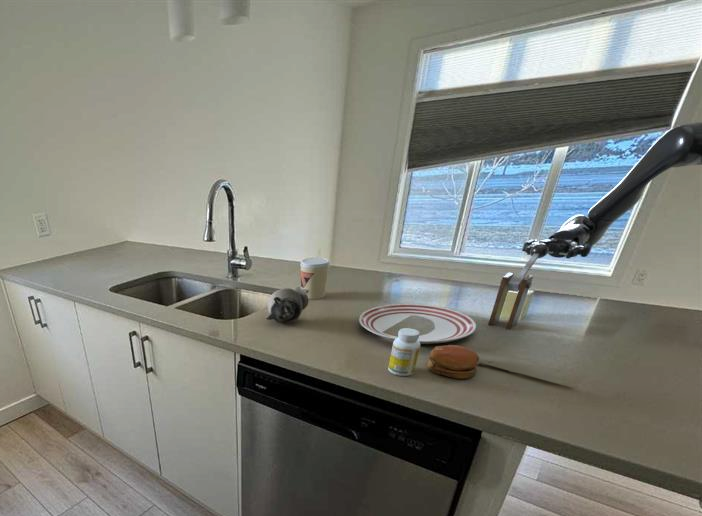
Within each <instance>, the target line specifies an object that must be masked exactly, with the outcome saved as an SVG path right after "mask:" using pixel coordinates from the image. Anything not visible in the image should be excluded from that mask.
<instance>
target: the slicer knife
mask: <svg viewBox="0 0 702 516" xmlns="http://www.w3.org/2000/svg"><path fill="white" fill-rule="evenodd" d="M548 251H549V248H548V246H547V245H546V244H537V245H535V246H533V247H532V249H531V251H530V255H529V256H531V257H530V258H529V260H528V261H527V263H526V264H525V265H524V266H523V268H521V271H520V272H519V273H518V274H517V275H513V277H512V279H511V280H510V281H509V283H508V289H507V290H508V291H516V292H518V291H519V288H520V285H521V282H522V279H524V278H525V277H526V275H527V274H528V272H529V271H530V270H531V268H532V267H533V266H534V264H535V263H536V262H537V260H538V259H542V258H544V257H546V256H547V255H548Z"/></svg>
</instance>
